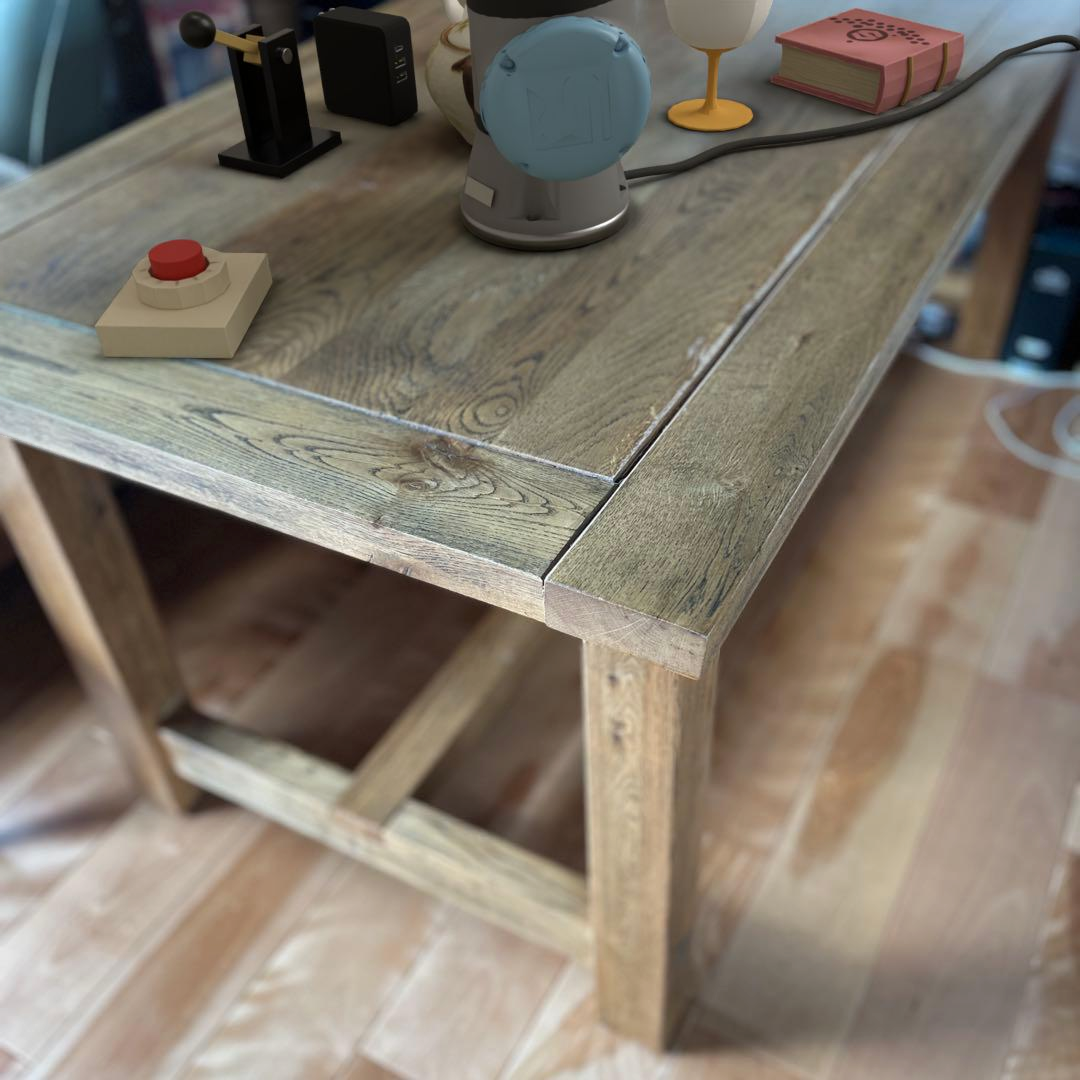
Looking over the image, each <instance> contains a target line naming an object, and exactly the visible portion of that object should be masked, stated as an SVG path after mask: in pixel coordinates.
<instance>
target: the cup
mask: <svg viewBox="0 0 1080 1080" xmlns="http://www.w3.org/2000/svg"><path fill="white" fill-rule="evenodd" d="M773 2H774V0H664V6H665V9H666V15H667V16H666V17H667V19H668V22H669V24H670V26H671V28H672V30H673V32H674V34H675V36H676V37H677V38H678V39H679V40H680V41H681V42H682V43H684V44H685V45H687V46H689V47H691V48H693V49H695V50H697V51H700V52H703V53H705V54H706V56H707V82H706V83H707V84H706V92H705V98H695V99H690V100H684V101H681V102H679V103H676V104H674V105H672V106H671V108H669V110H668V111H667V118H668V120H669V121H670V122H672V123H673V124H674V125H676V126H678V127H681V128H683V129H687V130H691V131H699V132H725V131H729V130H731V131H732V130H735V129H738V128H741V127H743V126H745V125H748V124H749V123H750V122H751V121H752V119H753V118H754V114H753V112H752V110H751V108H749V107H748V106H746V105H745V104H743V103H740V102H737V101H733V100H730V99H721V98H717V97H718V96H717V95H718V92H717V91H718V74H719V66H720V58H721V56H722V55H723V54H724V53H728V52H730V51H734V50H735V49H738V48H739V47H742V46H744V45H746V44H747V43H749V42H750V41H751V40H752V39H753V38H754V37H755V36H756V35H757V34H758V33H759V31H760V29H762V27H763V25H764V24H765V22H766V21H767V19H768V17H769V13H770V11H771V7H772V5H773Z"/></svg>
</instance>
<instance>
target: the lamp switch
mask: <svg viewBox="0 0 1080 1080" xmlns="http://www.w3.org/2000/svg"><path fill="white" fill-rule="evenodd" d="M230 34H231V35H234V36H237V37H239V38H242V39H245V40H246V35H253V36H260V37H265V35H264V30H263V25H262V24H260V23H252V24H250V25H247V26H245V27H243V28H241V29H238V30H236V31H234V32H231V33H230ZM297 43H298V42H297V37H296V30H295V29H294V28H284V29H282V30H279V31H278V32H275V33H273V34H270V35H268V36H266V37H265V38H264V39H262V40H260V41H258V47H259V53H260V58H261V63H262V67H260V66H257V65H254V64H251V63H248V62H245V61H243V59H244V52H242V51H239V50H236V49H233V48H230V47H227V46H225V47H226V51H227V56H228V60H229V65H230V71H231V75H232V79H233V81H232V82H233V84H234V91H235V94H236V100H237V105H238V109H239V115H240V119H241V124H242V129H243V134H244V137H245V138H244V139H243V140H241V141H239V142H237V143H235V144H233V145H231V146H230V147H227V148H226V149H224V150H221V151H220V152H218V153H217V159H218V163H219V166H221V167H224V168H225V167H226V168H230V169H234V170H239V171H244V172H249V173H252V174H253V173H254V174H258V175H263V176H269V177H273V178H278V179H285V178H286V177H288V176H290V175H291V174H293V173H295V172H296V171H298V170H299V169H301V168H302V167H304V166H307V165H308V164H310V163H311V162H312V161H314V160H316V159H318V158H320V157H321V156H323V155H325V154H326V153H329V151H331V150H334V149H335V148H337V147H338V146H340V145H341V144H343V140H342V133H341V131H339V130H333V129H327V128H322V127H316V126H311V122H310V116H309V109H308V104H307V97H306V91H305V85H304V79H303V73H302V66H301V62H300V55H299V50H298V49H299V48H298V44H297Z"/></svg>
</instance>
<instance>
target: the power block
mask: <svg viewBox="0 0 1080 1080" xmlns="http://www.w3.org/2000/svg"><path fill="white" fill-rule="evenodd" d="M201 247H202V251H203V255H204V259H205V263H206V270H205V271H204V272H202V273H200V274H198V275H196V276H194V277H191V278H187V279H183V280H178V281H161V280H158V279H156V278H155V277H154V275H153V271H152V268H151V264H150V261H149V257H148V253H147V254H146V256H145V257H144V258H143V259H140V261H139V262H138V263H137V264H136V266H135V267H134V269H133V270H132V271H131V275H130V277H129V279H127V281H126V282H125V283H124V285H123V286H122V288H121V289H120V291H119V292H118V293H117V294H116V296H115V297H114V299H113V300H112V301H111V303H110V304H109V305H108V307H107V309H105V311H104V312H103V314H102V315H101V316H100V318H99V319H98V321H97V322H96V323H95V325H94V329H95V332H96V335H97V339H98V341H99V344H100V347H101V349H102V353H103V356H104V357H105V358H106V357H107V358H169V359H171V358H173V359H174V358H176V359H178V358H179V359H183V358H184V359H233V358H234V356H235V354H236V353H237V350H238V348H239V347H240V345H241V343H242V341H243V340H244V337H245V335H246V333H247V331H248V330H249V328H250V326H251V324H252V322H253V320H254V319H255V317H256V315H257V313H258V311H259V309H260V307H261V305H262V304H263V302H264V300H265V298H266V296H267V294H268V292H269V290H270V288H271V287H272V285H273V278H272V271H271V267H270V262H269V257H268V253H267V252H221V251H219V250H216V249H213V248H210V247H207V246H201Z"/></svg>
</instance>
